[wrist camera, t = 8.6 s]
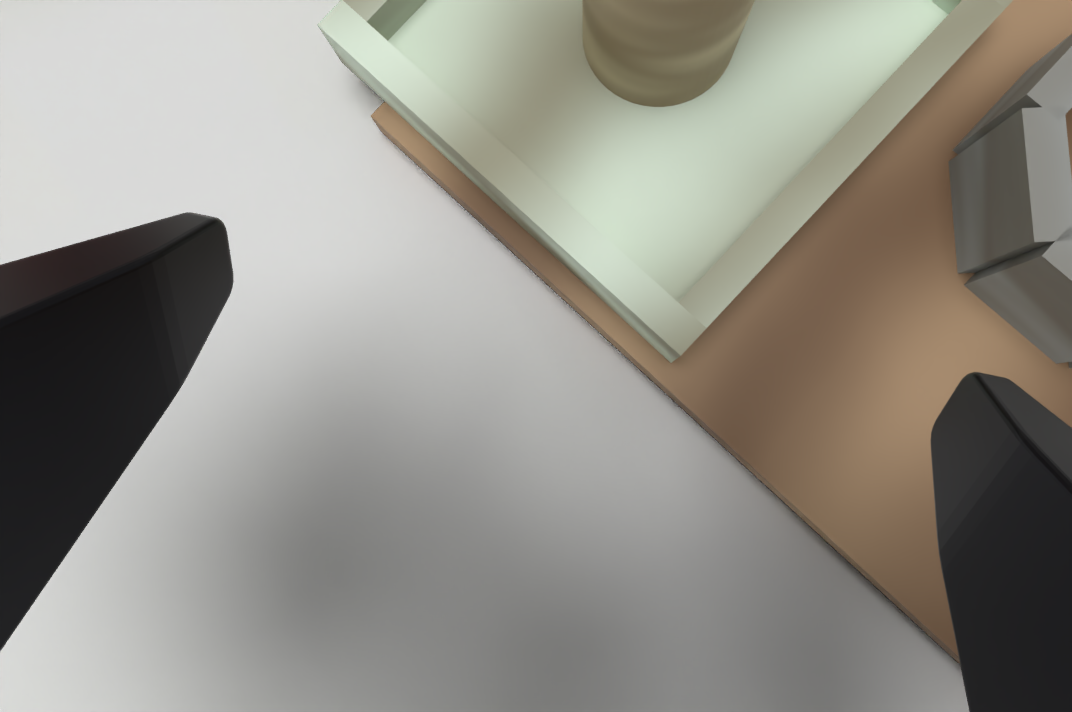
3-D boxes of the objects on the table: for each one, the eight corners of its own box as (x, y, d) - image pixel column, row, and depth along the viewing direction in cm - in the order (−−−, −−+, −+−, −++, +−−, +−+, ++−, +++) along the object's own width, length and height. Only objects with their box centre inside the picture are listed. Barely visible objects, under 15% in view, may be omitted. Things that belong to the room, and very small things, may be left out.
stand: (1559, 336, 18) (1845, 310, 14) (1128, 819, 17) (1293, 937, 13) (729, -309, 20) (765, -487, 16) (341, 94, 20) (281, 11, 16)
